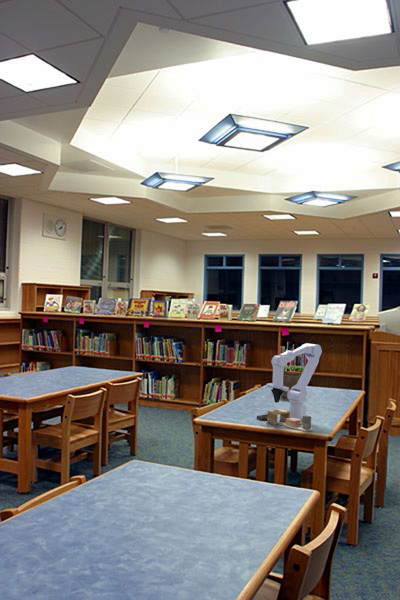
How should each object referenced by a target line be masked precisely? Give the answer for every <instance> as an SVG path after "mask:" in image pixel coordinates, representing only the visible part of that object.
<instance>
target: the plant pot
mask: <svg viewBox="0 0 400 600" xmlns="http://www.w3.org/2000/svg"><path fill="white" fill-rule="evenodd" d="M301 375H302V374H301V373H289V372H287V373H284V372H283V386H285V387H289V390H291V388H292V387H293V386H295V385H296V384H297V383H298V381H299V379H300V377H301ZM287 393H288V391H284V392H283V393H282V395H281V397H280V398H285V399H288V398H287Z"/></svg>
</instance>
